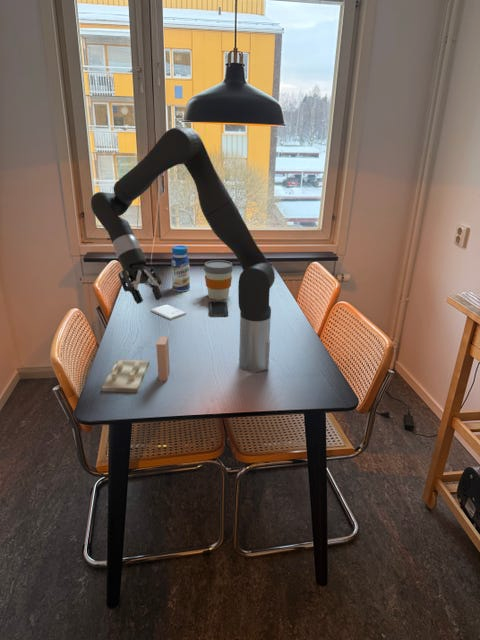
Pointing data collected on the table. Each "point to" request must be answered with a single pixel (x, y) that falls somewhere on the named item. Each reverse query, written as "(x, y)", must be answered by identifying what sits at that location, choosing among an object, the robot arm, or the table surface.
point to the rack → (126, 376)
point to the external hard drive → (168, 312)
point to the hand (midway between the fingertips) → (150, 300)
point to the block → (163, 358)
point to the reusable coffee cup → (218, 278)
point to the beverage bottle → (180, 269)
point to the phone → (218, 309)
